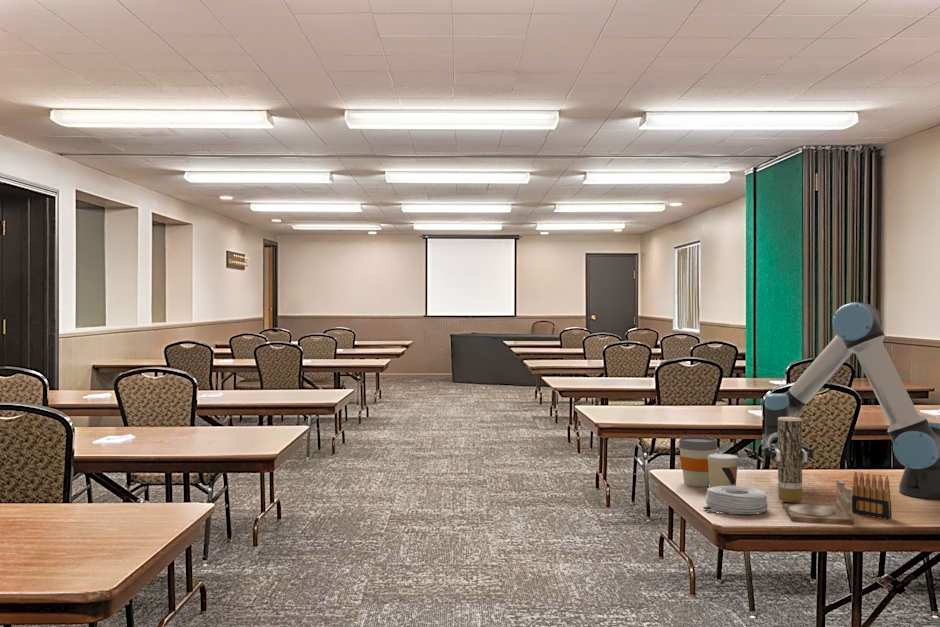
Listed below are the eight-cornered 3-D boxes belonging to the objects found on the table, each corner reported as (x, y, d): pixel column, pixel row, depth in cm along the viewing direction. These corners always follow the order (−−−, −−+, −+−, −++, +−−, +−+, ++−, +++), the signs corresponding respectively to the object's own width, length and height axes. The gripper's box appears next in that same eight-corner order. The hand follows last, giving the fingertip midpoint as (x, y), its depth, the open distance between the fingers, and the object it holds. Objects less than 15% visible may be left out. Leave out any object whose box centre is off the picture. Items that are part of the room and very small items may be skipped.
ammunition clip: (850, 512, 239) (850, 471, 239) (853, 511, 240) (853, 470, 240) (888, 519, 231) (889, 476, 231) (891, 518, 232) (891, 476, 232)
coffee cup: (727, 498, 257) (727, 459, 257) (701, 493, 265) (701, 455, 265) (743, 493, 263) (743, 456, 263) (718, 489, 271) (718, 452, 271)
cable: (701, 513, 240) (701, 492, 240) (710, 500, 255) (710, 481, 255) (764, 519, 232) (764, 497, 232) (769, 506, 248) (769, 485, 248)
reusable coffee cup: (672, 480, 284) (672, 437, 284) (706, 479, 287) (706, 436, 287) (689, 488, 272) (688, 442, 272) (724, 486, 274) (724, 441, 274)
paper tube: (798, 498, 254) (797, 416, 254) (805, 503, 247) (804, 419, 247) (775, 497, 255) (775, 416, 255) (781, 502, 248) (781, 419, 248)
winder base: (841, 510, 241) (841, 479, 241) (853, 524, 226) (853, 490, 226) (783, 507, 245) (783, 476, 245) (791, 521, 229) (791, 487, 229)
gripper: (813, 457, 266) (828, 470, 244) (749, 455, 271) (757, 468, 248) (813, 434, 266) (827, 445, 244) (749, 432, 271) (757, 443, 248)
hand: (792, 457), depth 246 cm, fingers closed on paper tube, 7 cm apart
